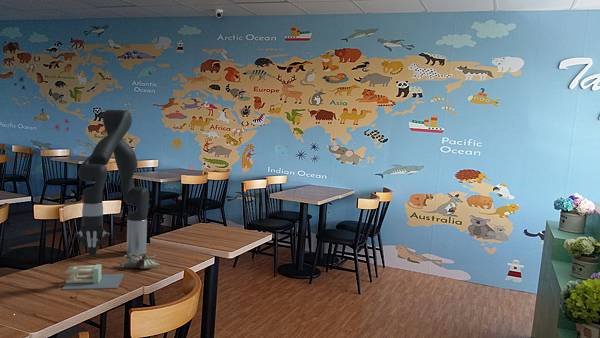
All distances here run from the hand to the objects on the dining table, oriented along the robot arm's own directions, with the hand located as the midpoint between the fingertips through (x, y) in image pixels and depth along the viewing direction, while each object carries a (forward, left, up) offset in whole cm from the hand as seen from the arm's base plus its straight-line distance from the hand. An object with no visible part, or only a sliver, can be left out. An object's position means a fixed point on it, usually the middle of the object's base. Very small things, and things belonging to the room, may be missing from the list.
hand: (92, 255), depth 180 cm
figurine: (-18, +17, -12) cm, 28 cm away
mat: (0, +1, -11) cm, 11 cm away
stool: (0, +3, -8) cm, 8 cm away
